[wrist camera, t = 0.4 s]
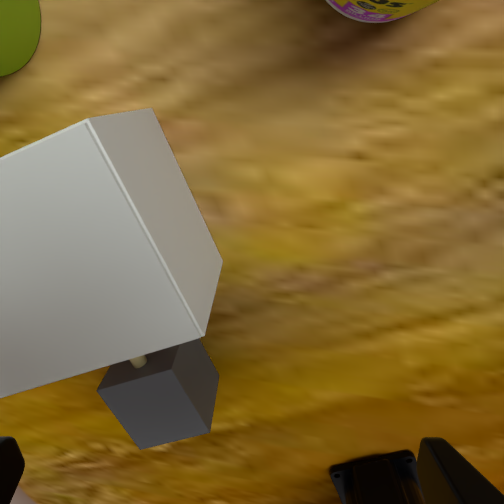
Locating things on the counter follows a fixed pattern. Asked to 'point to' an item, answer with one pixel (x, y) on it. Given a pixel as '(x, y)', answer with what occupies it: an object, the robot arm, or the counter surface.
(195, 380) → the plug
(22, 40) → the soap dispenser
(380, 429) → the counter surface
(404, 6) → the supplement bottle
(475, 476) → the robot arm
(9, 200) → the light grey rectangular block
